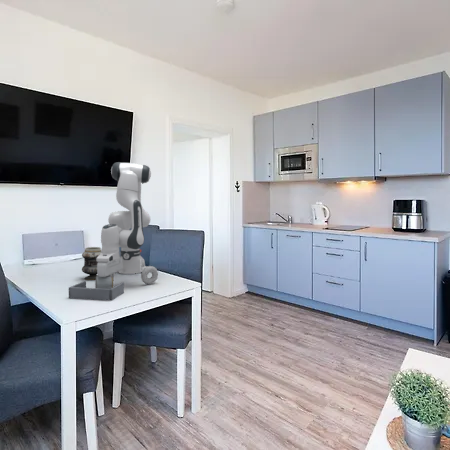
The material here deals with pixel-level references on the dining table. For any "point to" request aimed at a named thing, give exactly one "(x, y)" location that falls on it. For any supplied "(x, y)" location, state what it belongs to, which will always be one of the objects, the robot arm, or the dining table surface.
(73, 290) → the box
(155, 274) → the donut
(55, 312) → the dining table surface
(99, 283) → the ceramic mug
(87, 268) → the apothecary jar
